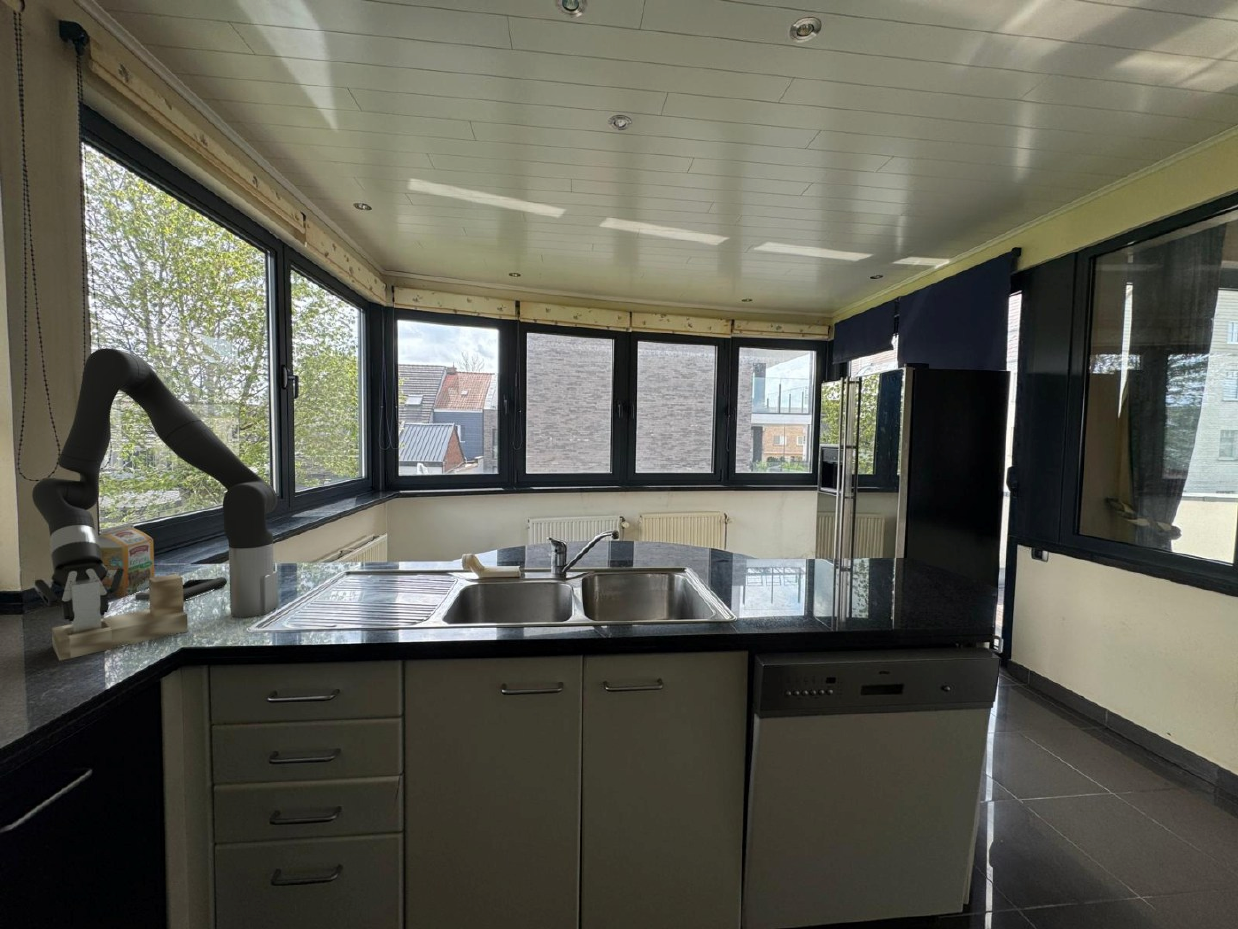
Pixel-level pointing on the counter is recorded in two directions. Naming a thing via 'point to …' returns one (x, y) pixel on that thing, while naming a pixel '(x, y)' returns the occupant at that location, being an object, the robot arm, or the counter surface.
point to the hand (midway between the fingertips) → (87, 616)
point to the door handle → (194, 587)
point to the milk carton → (127, 557)
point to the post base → (130, 622)
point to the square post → (85, 605)
